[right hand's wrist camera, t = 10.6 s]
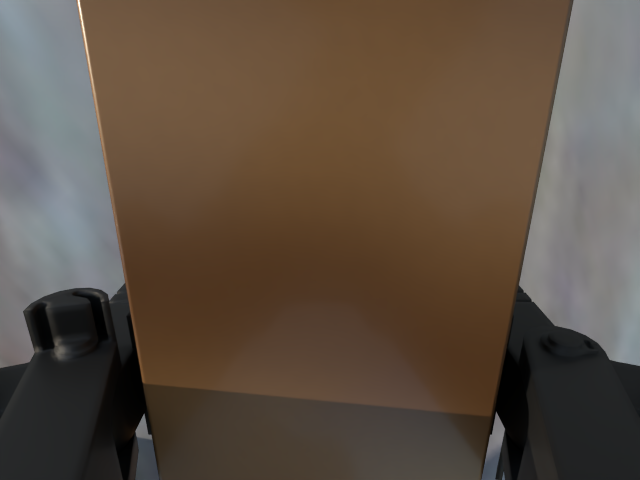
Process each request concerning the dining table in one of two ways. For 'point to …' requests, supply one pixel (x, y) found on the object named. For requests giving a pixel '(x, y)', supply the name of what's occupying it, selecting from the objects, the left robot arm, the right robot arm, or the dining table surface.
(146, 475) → the dining table surface
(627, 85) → the dining table surface
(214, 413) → the beam
